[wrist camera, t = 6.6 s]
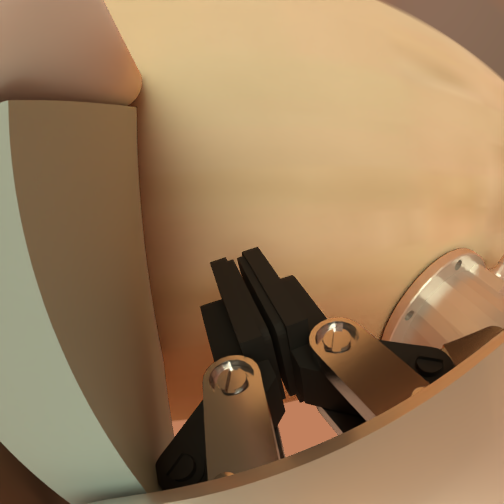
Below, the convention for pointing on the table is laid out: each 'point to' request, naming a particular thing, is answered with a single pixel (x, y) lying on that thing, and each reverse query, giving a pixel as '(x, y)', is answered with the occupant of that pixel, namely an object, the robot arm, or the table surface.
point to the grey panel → (75, 258)
